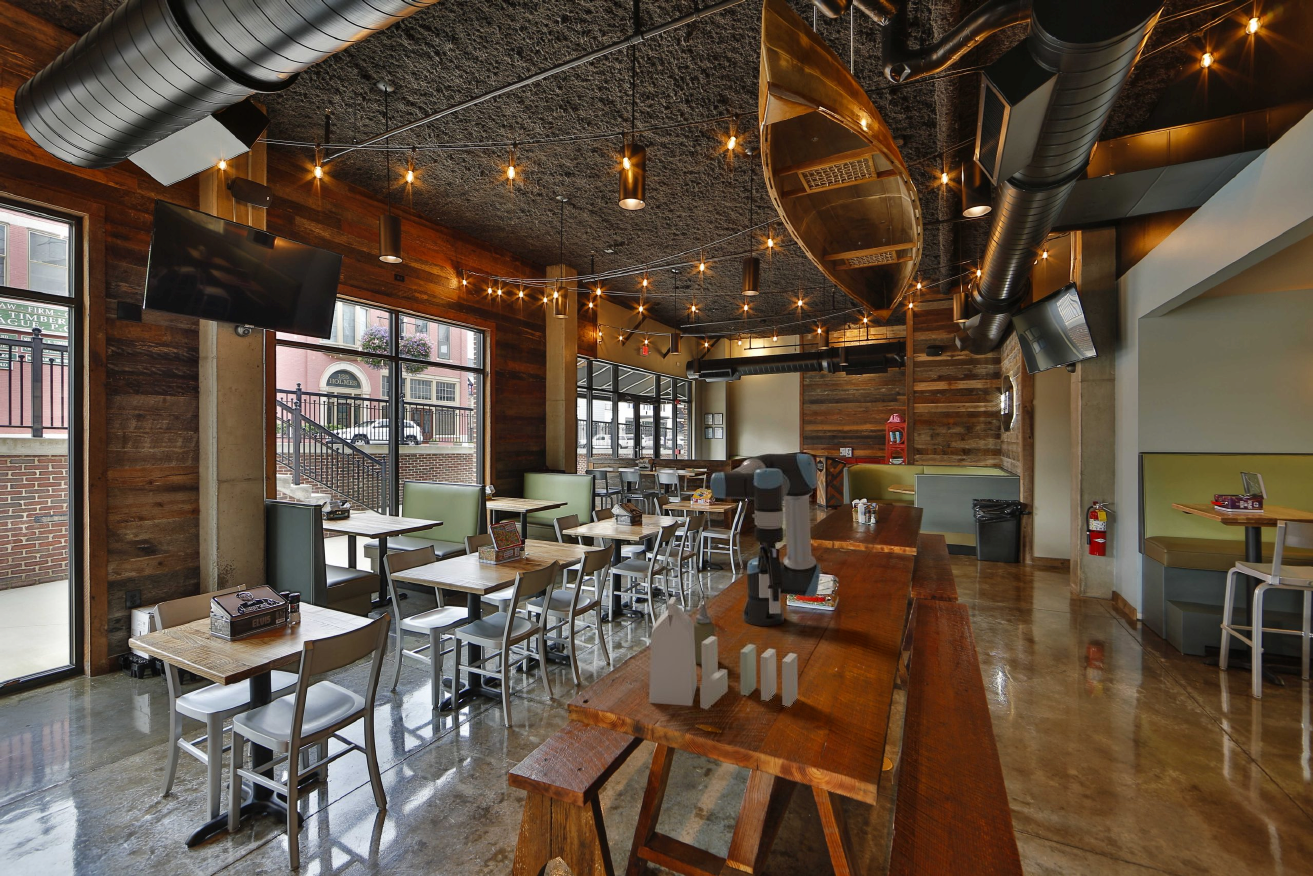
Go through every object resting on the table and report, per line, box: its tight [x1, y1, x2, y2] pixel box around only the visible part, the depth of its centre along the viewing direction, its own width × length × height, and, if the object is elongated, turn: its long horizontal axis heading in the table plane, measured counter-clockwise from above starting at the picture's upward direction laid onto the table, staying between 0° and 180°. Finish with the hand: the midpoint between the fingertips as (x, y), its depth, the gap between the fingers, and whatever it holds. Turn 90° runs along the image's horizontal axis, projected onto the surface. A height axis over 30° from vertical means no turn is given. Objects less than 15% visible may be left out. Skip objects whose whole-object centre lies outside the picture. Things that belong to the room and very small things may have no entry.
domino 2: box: [699, 668, 729, 710], centre depth 155 cm, size 2×6×12 cm
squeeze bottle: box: [693, 603, 716, 666], centre depth 179 cm, size 8×8×18 cm
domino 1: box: [701, 636, 719, 684], centre depth 165 cm, size 2×6×12 cm, turn 147°
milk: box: [648, 596, 698, 707], centre depth 158 cm, size 12×12×26 cm
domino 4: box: [760, 647, 777, 702], centre depth 155 cm, size 2×6×12 cm, turn 147°
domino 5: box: [781, 652, 799, 708], centre depth 152 cm, size 2×6×12 cm, turn 147°
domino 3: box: [739, 643, 757, 697], centre depth 159 cm, size 2×6×12 cm, turn 147°
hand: (769, 604), depth 154 cm, fingers open, 13 cm apart
